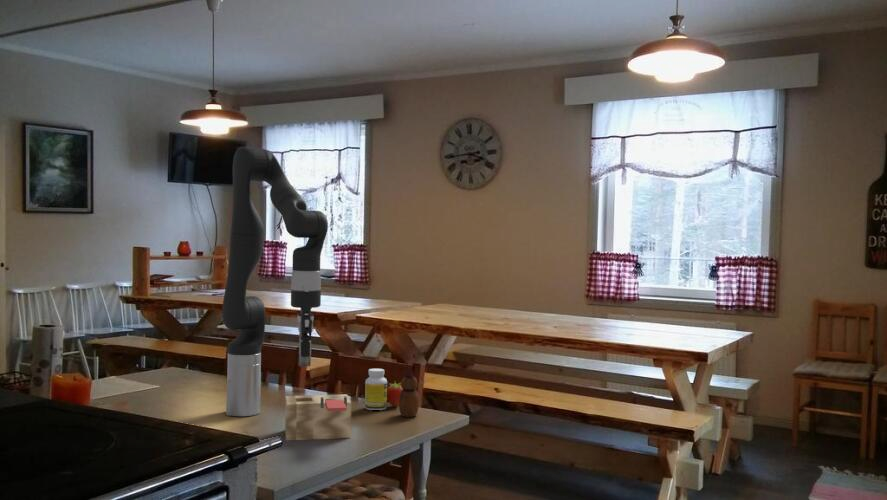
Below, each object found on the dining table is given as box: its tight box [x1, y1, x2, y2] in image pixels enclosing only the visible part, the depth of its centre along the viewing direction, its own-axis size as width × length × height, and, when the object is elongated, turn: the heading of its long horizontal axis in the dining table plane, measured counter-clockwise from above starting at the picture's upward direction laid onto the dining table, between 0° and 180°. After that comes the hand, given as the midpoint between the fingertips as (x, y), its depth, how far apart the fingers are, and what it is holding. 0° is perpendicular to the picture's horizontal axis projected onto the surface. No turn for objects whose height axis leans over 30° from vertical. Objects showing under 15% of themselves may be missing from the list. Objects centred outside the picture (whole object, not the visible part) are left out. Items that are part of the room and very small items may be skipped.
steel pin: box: [298, 327, 312, 368], centre depth 195 cm, size 3×3×11 cm
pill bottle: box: [364, 368, 388, 411], centre depth 226 cm, size 6×6×12 cm
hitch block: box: [284, 393, 352, 441], centre depth 195 cm, size 16×12×11 cm
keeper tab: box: [325, 399, 347, 411], centre depth 187 cm, size 4×10×1 cm, turn 13°
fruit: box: [387, 381, 403, 408], centre depth 229 cm, size 5×5×8 cm
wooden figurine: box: [398, 362, 420, 418], centre depth 218 cm, size 7×6×15 cm
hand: (304, 355), depth 195 cm, fingers closed on steel pin, 3 cm apart
